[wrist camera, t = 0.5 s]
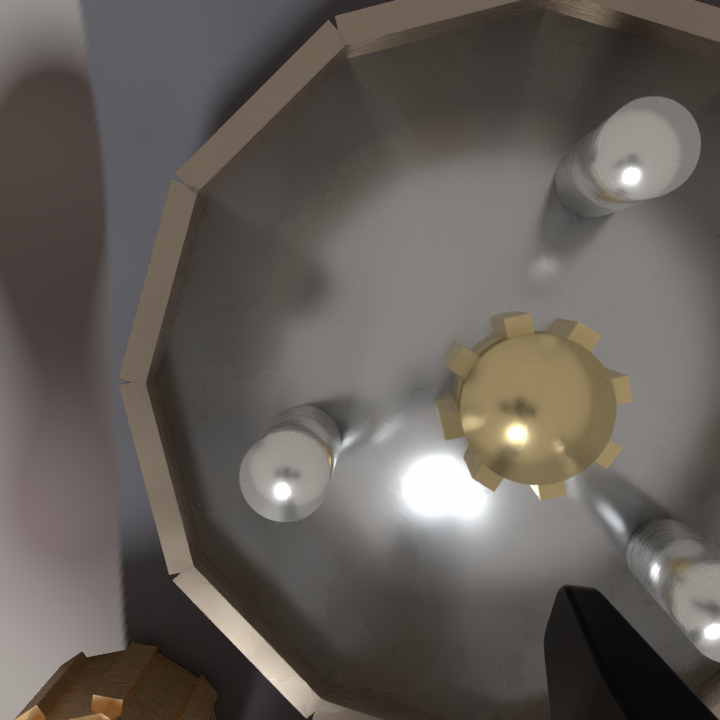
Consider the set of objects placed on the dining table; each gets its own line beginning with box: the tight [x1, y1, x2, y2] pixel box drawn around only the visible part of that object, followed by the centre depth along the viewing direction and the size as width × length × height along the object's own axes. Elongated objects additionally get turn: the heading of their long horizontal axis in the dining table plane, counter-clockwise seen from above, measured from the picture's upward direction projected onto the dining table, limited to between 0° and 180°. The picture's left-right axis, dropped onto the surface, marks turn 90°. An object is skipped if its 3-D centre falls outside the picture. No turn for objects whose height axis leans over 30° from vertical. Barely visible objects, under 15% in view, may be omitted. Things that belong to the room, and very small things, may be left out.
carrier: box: [119, 0, 720, 720], centre depth 18 cm, size 23×23×5 cm
